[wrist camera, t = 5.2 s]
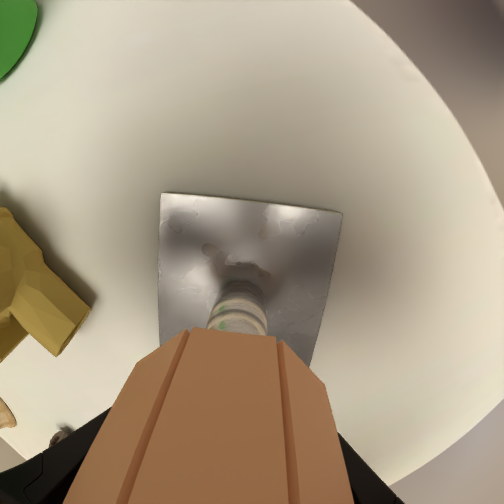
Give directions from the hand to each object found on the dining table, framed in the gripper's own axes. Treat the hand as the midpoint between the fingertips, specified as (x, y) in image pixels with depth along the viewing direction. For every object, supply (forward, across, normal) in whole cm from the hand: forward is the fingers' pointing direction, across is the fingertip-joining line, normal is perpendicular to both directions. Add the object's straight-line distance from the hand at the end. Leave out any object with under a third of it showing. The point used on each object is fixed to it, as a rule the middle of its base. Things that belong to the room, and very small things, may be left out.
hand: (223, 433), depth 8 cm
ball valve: (+11, +17, +1) cm, 20 cm away
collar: (+1, 0, 0) cm, 1 cm away
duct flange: (+10, 0, 0) cm, 10 cm away
